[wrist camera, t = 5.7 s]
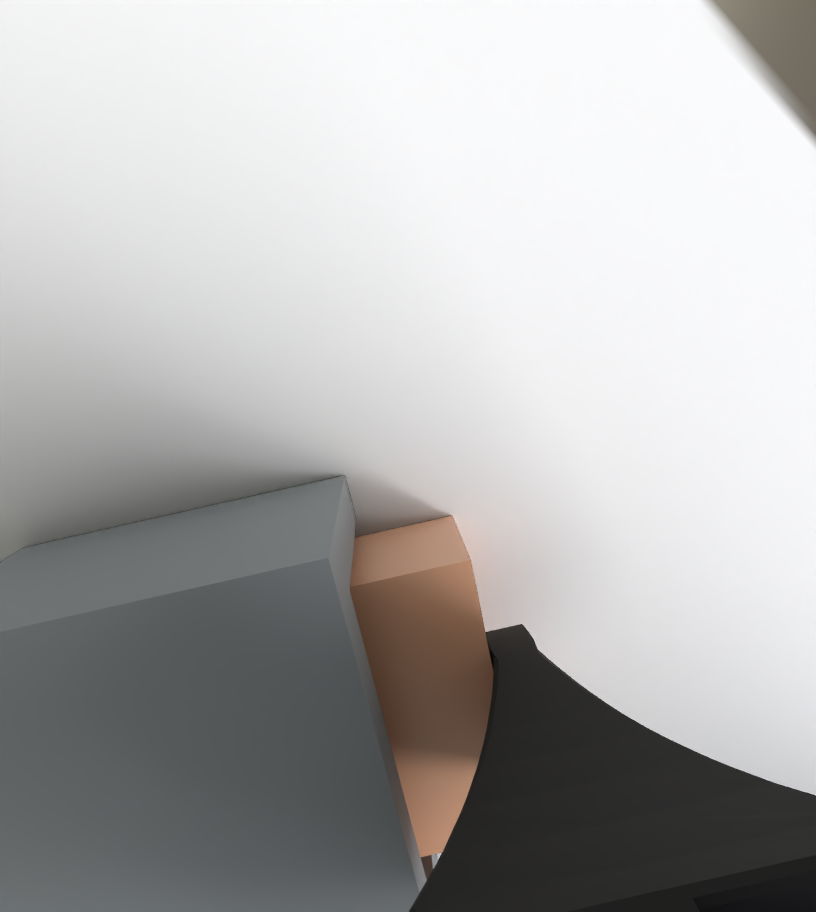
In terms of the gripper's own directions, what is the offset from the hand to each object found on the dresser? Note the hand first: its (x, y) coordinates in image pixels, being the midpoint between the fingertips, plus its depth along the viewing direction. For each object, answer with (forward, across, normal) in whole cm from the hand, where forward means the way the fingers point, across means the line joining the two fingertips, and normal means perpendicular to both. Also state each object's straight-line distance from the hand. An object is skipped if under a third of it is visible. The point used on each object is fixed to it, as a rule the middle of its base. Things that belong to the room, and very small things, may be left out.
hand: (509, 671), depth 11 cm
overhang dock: (+1, +6, 0) cm, 6 cm away
